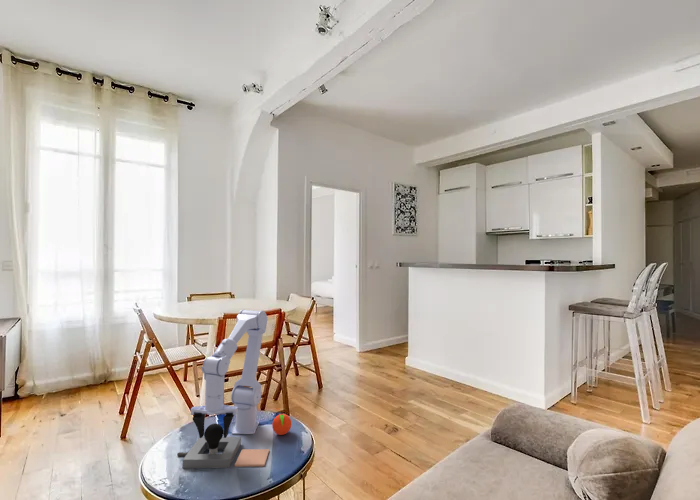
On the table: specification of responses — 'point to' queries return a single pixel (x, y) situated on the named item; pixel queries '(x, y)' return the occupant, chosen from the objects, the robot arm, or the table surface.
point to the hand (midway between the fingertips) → (213, 436)
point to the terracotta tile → (252, 457)
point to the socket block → (201, 460)
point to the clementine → (281, 424)
